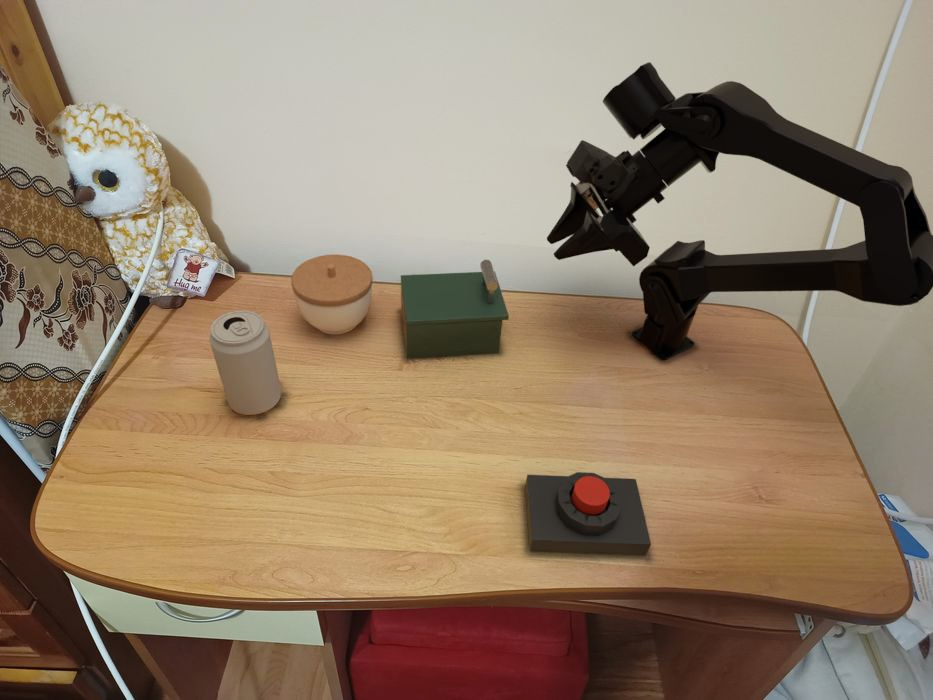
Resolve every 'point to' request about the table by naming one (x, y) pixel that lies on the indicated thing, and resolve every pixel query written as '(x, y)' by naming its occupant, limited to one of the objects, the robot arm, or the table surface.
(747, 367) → the table surface
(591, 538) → the panel
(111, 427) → the table surface
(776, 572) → the table surface
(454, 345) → the green box
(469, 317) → the lid
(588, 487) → the button
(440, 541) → the table surface
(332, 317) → the trinket box
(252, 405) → the beverage can
